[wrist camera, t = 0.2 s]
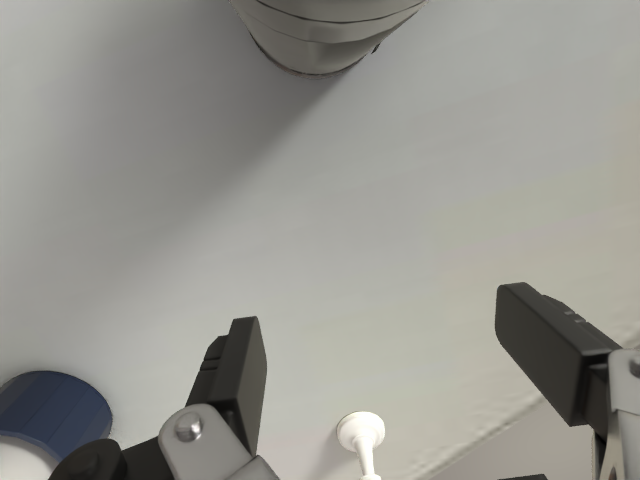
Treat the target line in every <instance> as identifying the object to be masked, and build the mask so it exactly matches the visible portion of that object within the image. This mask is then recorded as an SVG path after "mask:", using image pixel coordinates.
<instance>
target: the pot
mask: <svg viewBox="0 0 640 480" xmlns="http://www.w3.org/2000/svg"><path fill="white" fill-rule="evenodd" d="M111 427H112V414H111V411H110V408H109V406H108V404H107V402H106V401H105V399H104V398H103V397H102V396H101V395H100V393H99V392H98V391H96V390H95V389H94V388H93V387H91V386H90V385H88V384H87V383H85V382H83V381H82V380H80V379H77V378H75V377H73V376H70V375H67V374H63V373H58V372H51V371H36V372H29V373H25V374H22V375H19V376H17V377H15V378H13V379H12V380H10V381H9V382H7V383H6V384H4V385H3V386H2V387H0V435H2V436H9V437H16V438H19V439H21V440H24V441H26V442H28V443H31V444H33V445H36V446H38V447H40V448H42V449H43V450H44V451H45V452H47V453H48V454H49V455H50V456H52V457H53V458H54V459H55V460H56V461H58V462H59V463H60V462H61V461H62V460H63V459H64V458H65V457H66V456H68V455H69V454H70V453H71V452H73V451H74V450H76V449H77V448H79V447H81V446H82V445H84V444H87V443H89V442H91V441H94V440H98V439H107V438H108V436H109V434H110V430H111Z"/></svg>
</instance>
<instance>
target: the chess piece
mask: <svg viewBox="0 0 640 480" xmlns="http://www.w3.org/2000/svg"><path fill="white" fill-rule="evenodd" d="M337 435H338V439H339V442H340V444H341V445H342V446H343V447H344V448H346V449H347V450H349V451H352V452H357V455H358V458H359V462H360V465H361V468H362V473H363V477H361V478H360V479H359V480H382V479H381V477H380V476H378V475H376V474H374V467H373V454H372V449H374V448H376V447H377V446H379V445H380V444H381V442H382V441H383V439H384V436H385V430H384V423H383V421H382V420H381V418H380V417H378V416H377V415H375V414H373V413H370V412H355V413H352V414H350V415H348V416H346V417H345V418H343V419H342V420H341V421H340V423H339V425H338V427H337Z"/></svg>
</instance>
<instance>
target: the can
mask: <svg viewBox="0 0 640 480" xmlns="http://www.w3.org/2000/svg"><path fill="white" fill-rule="evenodd" d="M58 464H59V462H58V461H56V460H55V459H54V458H53V457H52V456H50V455H49V454H48V453H47V452H45V451H44V450H43V449H42V448H40V447H38V446H36V445H33V444H31V443H28V442H26V441H24V440H21V439H19V438H16V437H9V436H2V435H0V480H48V479H49V477H50V475H51V474H52V472H53V471H54V469H55V468H56V467H57V466H58Z"/></svg>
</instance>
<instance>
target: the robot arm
mask: <svg viewBox="0 0 640 480" xmlns="http://www.w3.org/2000/svg"><path fill="white" fill-rule="evenodd" d="M228 1H229V2H230V4H231V5H232V6H233V8H234V9H235V11H236V12H237V14H238V15H239V17H240V18H241V20H242V21H243V22H244V24H245V25H246V27H247V28H248V30H249V32H250V34H251V36H252V38H253V39H254V41H255V43H256V44H257V46H258V47H259V48H260V50H261V51H262V52H263V53H264V54H265V56H266V57H267V58H268V59H269V60H270V61H272V62H273V63H274V64H275V65H277V66H278V67H279V68H281V69H283V70H284V71H286V72H288V73H290V74H293V75H296V76H299V77H303V78H311V79H319V78H327V77H332V76H335V75H338V74H340V73H343V72H344V71H346V70H348V69H350V68H351V67H353V66H354V65H355V64H357V63H358V62H359V61H360V60H361V59H362V58H363V57H364V56H365V55H366V54H367V53H368V52H369V51H370V50H372V49H373V48H374V47H375V46H376V47H375V49H374V50H373V52H372V53H374V52H375V51H376V50H377V48H378V46H379V45H380V43H381V41H383V40H384V39H385V38H386V37H387V36H389V35H390V34H391V33H392V32H393V31H395V30H396V29H397V28H398V27H400V26H401V25H402V24H403V23H404V22H406V21H407V20H408V19H409V18H411V17H412V16H413V15H414V14H415V13H417V12H418V11H419V10H420V9H421V8H422V7H423V6H425V5H426V4H427V3H428V2H430V1H431V0H228ZM495 331H496V335H497V338H498V340H499V342H500V344H501V345H502V346H503V348H504V349H505V350H506V351H507V352H508V353H509V355H510V356H511V357H512V358H513V359H514V361H515V362H516V363H517V364H518V365H519V367H520V368H521V369H522V370H523V371H524V373H525V374H526V375H527V376H528V377H529V379H530V380H531V381H532V382H533V383H534V385H535V386H536V387H537V388H538V389H539V391H540V392H541V393H542V394H543V395H544V397H545V398H546V399H547V400H548V401H549V403H550V404H551V405H552V406H553V407H554V408H555V410H556V411H557V412H558V413H559V414H560V416H561V417H562V418H563V419H564V421H565V422H566V423H567V424H568V425H569V426H570V427H572V426H579V425H587V424H589V425H590V426H591V427H592V428H593V429H594V430H593V435H592V480H640V350H637V349H623V348H622V347H621V346H620V345H618V344H617V343H616V342H614V341H613V340H612V339H610V338H609V337H608V336H606V335H605V334H604V333H602V332H601V331H600V330H598V329H597V328H596V327H594V326H593V325H592V324H590V323H589V322H586V320H585V319H584V318H582V317H581V316H580V315H578V314H575V312H574V311H573V310H572V309H570V308H569V307H568V306H566V305H565V304H564V303H562V302H560V301H558V300H556V299H553V298H551V297H549V296H546V295H541V294H540V293H539V292H537V291H536V290H535V289H534V288H532V287H531V286H530V285H529V284H527V283H525V282H520V283H512V284H505V285H500V286H499V287H498V289H497V298H496V314H495ZM266 375H267V361H266V354H265V349H264V344H263V339H262V335H261V330H260V325H259V321H258V318H257V316H253V317H245V318H237V319H234V320H233V322H232V325H231V328H230V331H229V334H228V335H225V336H218V337H217V339H216V340H215V341H214V342H213V343H212V344H211V345H210V346H209V347H208V349H207V352H206V354H205V357H204V361H203V362H202V365H201V367H200V371H199V372H198V375H197V377H196V380H195V382H194V385H193V388H192V390H191V393H190V395H189V398H188V400H187V403H186V405H185V408H183V409H181V410H179V411H177V412H176V413H174V414H173V415H172V416H171V417H170V418H169V419H168V420H167V421H166V422H165V423H164V424H163V426H162V428H161V429H160V432H159V435H158V436H157V437H155V438H152V439H150V440H148V441H145V442H143V443H140V444H138V445H135V446H132V447H130V448H127V449H125V450H122V451H121V449H120V446H119V444H118V443H117V442H116V441H115V440H112V439H98V440H94V441H91V442H89V443H87V444H84V445H82V446H81V447H79V448H77V449H76V450H74V451H73V452H71V453H70V454H69V455H68V456H66V457H65V458H64V459H63V460H62V461H61V462H60V463H59V464H58V466H57V467H56V468H55V469H54V471H53V472H52V474H51V475H50V477H49V479H48V480H280V479H279V478H278V476H277V475H276V474H275V472H274V471H273V470H272V469H271V467H270V466H269V465H268V464H267V462H266V461H265V460H264V459H263V458H262V457H261V456H259V455H257V456H256V450H257V443H258V435H259V428H260V420H261V413H262V405H263V398H264V390H265V383H266ZM499 480H548V479H547V478H546V476H545V475H544V474H538V475H530V476H523V477H515V478H508V479H499Z"/></svg>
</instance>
